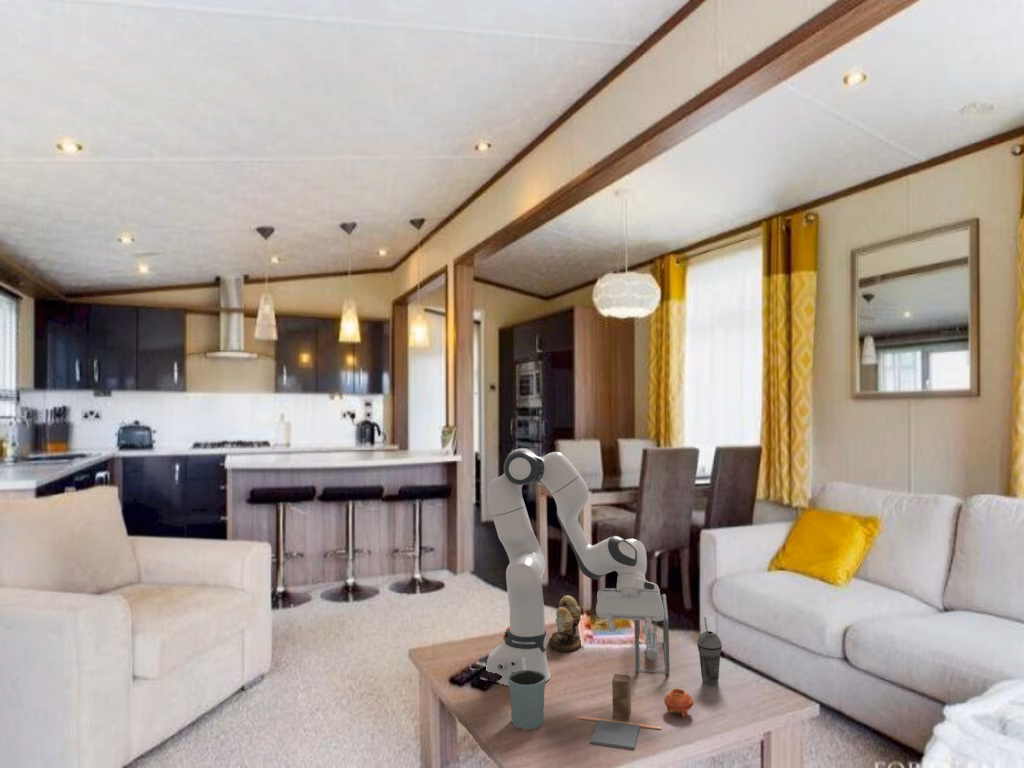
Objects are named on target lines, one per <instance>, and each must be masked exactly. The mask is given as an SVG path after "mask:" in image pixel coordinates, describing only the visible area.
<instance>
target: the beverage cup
mask: <svg viewBox="0 0 1024 768" xmlns="http://www.w3.org/2000/svg"><path fill="white" fill-rule="evenodd" d="M703 619H704V626H705V628H704V629H705V631H703V632H702V633H700V635H699V636H698V640H697V650H698V653H699V663H700V664H699V665H700V670H701V671H700V672H701V679H702V684H703V685H704V686H706V687H710V688H711V687H714V688H715V687H717V686H718V685H719V678H720V661H721V652H722V648H723V645H722V641H721V638H720V637H719V636H718V634H717V633H715V632H713V631H711V630H710V631H709V630H708V625H707V618H706V616H704V617H703Z"/></svg>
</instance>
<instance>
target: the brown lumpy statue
mask: <svg viewBox="0 0 1024 768" xmlns="http://www.w3.org/2000/svg"><path fill="white" fill-rule="evenodd" d="M558 606H559V607H558V608H557V610H556V615H555V617H556V618H555V623H556V627H557V629H556V631H557V632H553V633H552V635H551V637H549V638H548V639H549V640H548V646H549V647H550V648H551V650H552V651H556V652H558V653H573V652H576V651H578V650H579V649H580V648H582V646H581V640H580V637H581V636H580V635H579V634H578V633H577V627H578V626H579V624H580V622H581V620H582V618H581V613H582V610H581V609H582V608H581V607H580V605H578V602H577V600H576V598H574V597H573V596H571V595H564V596H562V598H561V599H560V600H559V605H558Z"/></svg>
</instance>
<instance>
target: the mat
mask: <svg viewBox="0 0 1024 768" xmlns="http://www.w3.org/2000/svg"><path fill="white" fill-rule="evenodd" d="M640 728H641V727H640V725H635V724H627V723H620V722H612V721H605V720H598V721H596V725H595V728H594V730H593V733H592V736H591V738H590V744H593V745H601V746H608V747H615V748H621V749H627V750H629V749H630V750H635V748H636V745H637V739H638V735H639V733H640V732H639V731H640Z"/></svg>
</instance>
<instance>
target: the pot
mask: <svg viewBox="0 0 1024 768" xmlns="http://www.w3.org/2000/svg"><path fill="white" fill-rule="evenodd" d="M663 701H664V702H663V703H664V704H665V706H666V710H667V712H668V713H671V711H672V712H675V713H678V714H679V713H680V714H681V716H682V718H683V719H685V718H686V714H687V711H689V710H691V708H692V707H693V706H694V703H695V702H694V699H693V697H692V696H691V695H690V694H689V693H688V692H686V691H685V690H684V689H680V688H674V689H672V690H671V691H670V692H669V693H667V694H666V695H665V696H664V700H663Z"/></svg>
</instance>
